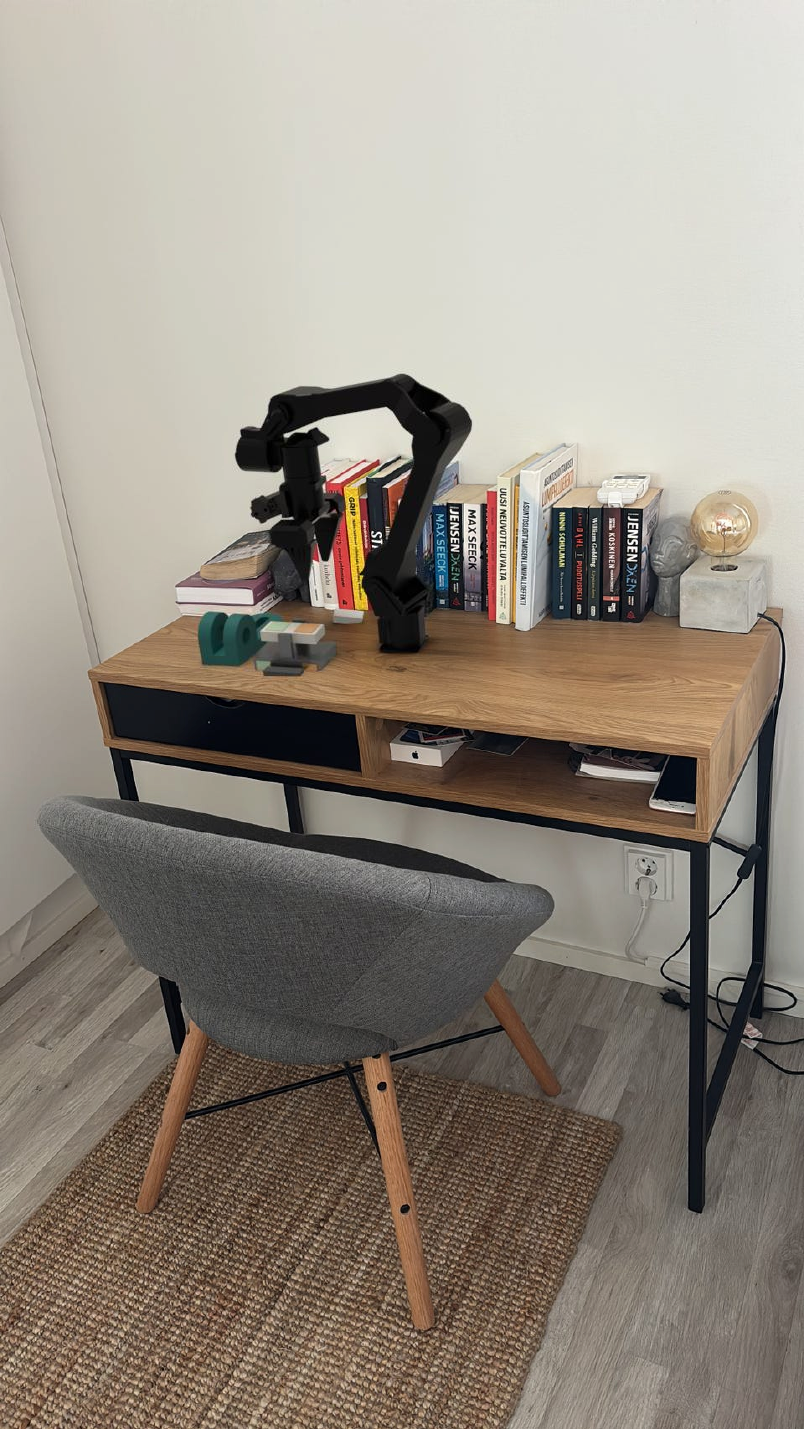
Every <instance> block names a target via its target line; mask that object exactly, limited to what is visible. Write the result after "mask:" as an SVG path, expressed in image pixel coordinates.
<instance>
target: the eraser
mask: <svg viewBox="0 0 804 1429" xmlns="http://www.w3.org/2000/svg"><path fill="white" fill-rule="evenodd" d="M364 614H365V613H364V611H363V610H355V609H344V608H343V609H342V608H335V609H334V613H333V615H332V616H333V617H332V623H334V624H345V625H348V624H359V623H362V622H363V619H364Z"/></svg>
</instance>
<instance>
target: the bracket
mask: <svg viewBox="0 0 804 1429" xmlns="http://www.w3.org/2000/svg"><path fill="white" fill-rule="evenodd" d="M270 621H273V622H284V621H283V617H282V616H281V615H280V614H278V613H273V612H263V613H255V614H246V613H232V614H230V615H228V614H227V613H225V612H224V611H223V612H221V611H206V612H205V613H204V614H203V615H202V616H201V619H200V621H199V624H198V629H197V641H198V647H199V653H200V659H201V665H203V666H221V667H222V666H224V667H225V666H226V667H229V666H230V667H240V666H242V665H243V664H244V663H245V662H247V661H248V660H249V659H250V658H253V656H254V655H255V654H256V653H257V652H258V651H259V650H260V649H261V648H262V647H263V646H264V645H265V644H266V643H267V642H268V641H261V634H260V631H261V630H262V629H263V628H264V627H265V626H266V625H267V624H268V623H269V622H270Z"/></svg>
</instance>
